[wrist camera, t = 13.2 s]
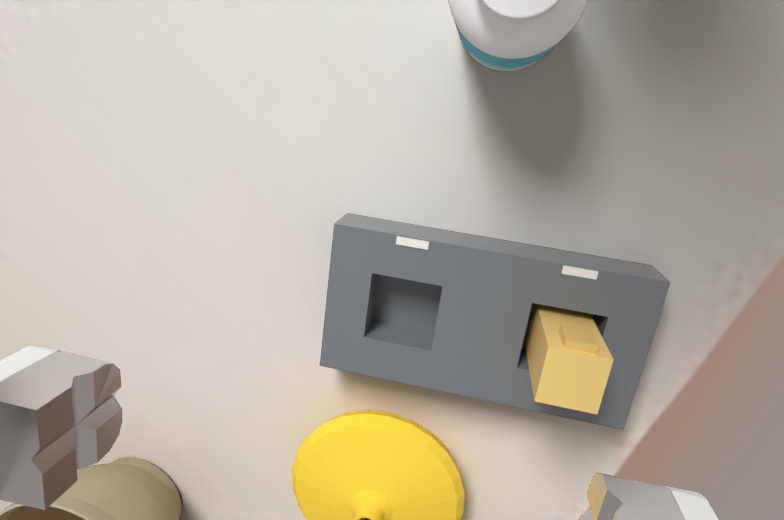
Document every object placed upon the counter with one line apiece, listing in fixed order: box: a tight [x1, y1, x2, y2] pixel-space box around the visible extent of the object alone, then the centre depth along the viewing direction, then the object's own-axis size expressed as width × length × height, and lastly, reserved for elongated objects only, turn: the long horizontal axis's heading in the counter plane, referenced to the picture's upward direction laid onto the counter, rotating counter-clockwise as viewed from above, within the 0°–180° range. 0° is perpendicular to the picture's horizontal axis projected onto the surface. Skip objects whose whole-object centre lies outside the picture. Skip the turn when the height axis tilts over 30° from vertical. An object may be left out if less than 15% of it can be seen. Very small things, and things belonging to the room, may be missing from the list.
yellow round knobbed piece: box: [292, 410, 465, 520], centre depth 45 cm, size 16×16×7 cm
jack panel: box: [320, 213, 670, 429], centre depth 40 cm, size 12×24×4 cm, turn 82°
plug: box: [524, 303, 614, 414], centre depth 37 cm, size 5×4×9 cm
